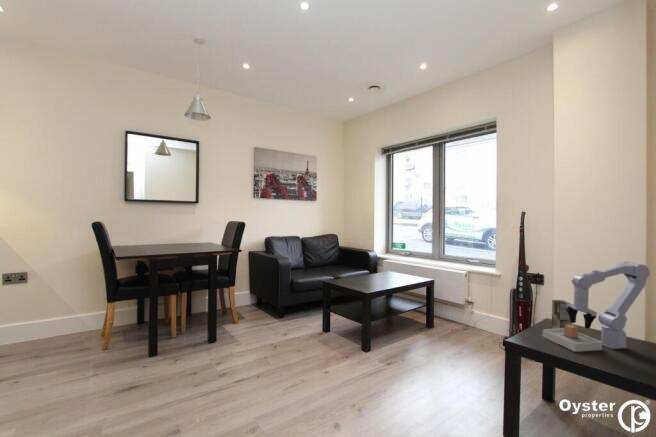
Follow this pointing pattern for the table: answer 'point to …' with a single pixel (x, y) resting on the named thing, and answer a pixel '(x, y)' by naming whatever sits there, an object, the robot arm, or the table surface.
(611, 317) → the robot arm
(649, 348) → the table surface
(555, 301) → the coffee box
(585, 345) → the tray
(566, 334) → the peg
